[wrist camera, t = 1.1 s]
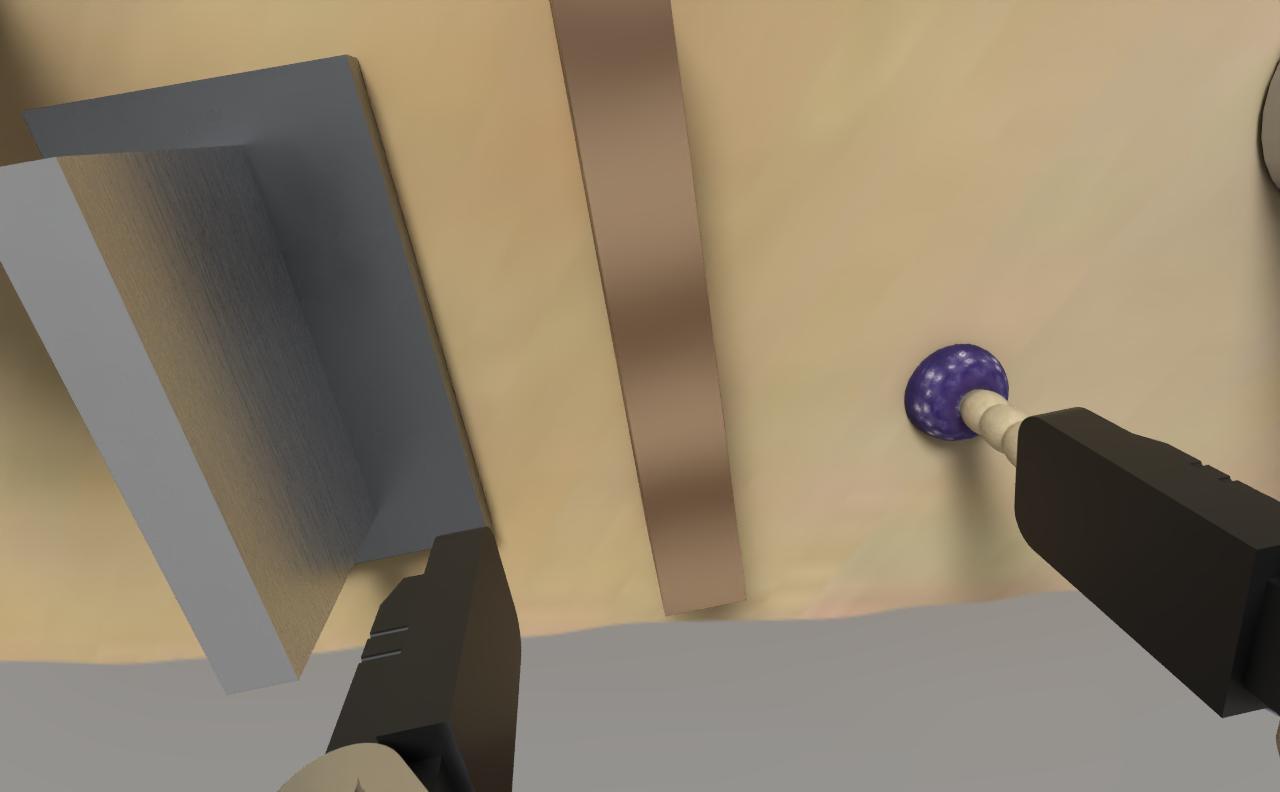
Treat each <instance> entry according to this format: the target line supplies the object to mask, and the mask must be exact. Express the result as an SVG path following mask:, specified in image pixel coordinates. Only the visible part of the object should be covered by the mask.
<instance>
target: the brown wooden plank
mask: <svg viewBox="0 0 1280 792" xmlns="http://www.w3.org/2000/svg"><path fill="white" fill-rule="evenodd" d="M549 1H550V6H551V12H552V17H553V22H554V28H555V33H556V39H557V44H558V49H559V55H560V60H561V66H562V71H563V76H564V82H565V87H566V93H567V98H568V103H569V109H570V114H571V120H572V125H573V130H574V136H575V141H576V147H577V152H578V157H579V163H580V168H581V174H582V179H583V184H584V190H585V195H586V201H587V206H588V211H589V217H590V222H591V228H592V233H593V238H594V244H595V249H596V255H597V260H598V265H599V271H600V276H601V282H602V287H603V292H604V298H605V303H606V309H607V314H608V319H609V325H610V330H611V336H612V341H613V346H614V352H615V357H616V363H617V368H618V374H619V379H620V384H621V390H622V395H623V401H624V406H625V411H626V417H627V422H628V428H629V433H630V438H631V444H632V449H633V455H634V460H635V465H636V471H637V476H638V482H639V487H640V492H641V498H642V503H643V509H644V514H645V519H646V525H647V530H648V535H649V540H650V544H651V549H652V554H653V559H654V563H655V568H656V573H657V578H658V582H659V587H660V592H661V597H662V601H663V606H664V611H665V616H670V615H675V614H680V613H685V612H690V611H695V610H700V609H705V608H709V607H714V606H719V605H724V604H729V603H734V602H739V601H744V600H746V594H745V586H744V578H743V570H742V562H741V554H740V546H739V539H738V531H737V523H736V515H735V507H734V499H733V491H732V483H731V475H730V468H729V460H728V452H727V444H726V436H725V428H724V420H723V412H722V404H721V397H720V389H719V381H718V373H717V365H716V357H715V349H714V341H713V333H712V326H711V318H710V310H709V302H708V294H707V286H706V278H705V270H704V262H703V255H702V247H701V239H700V231H699V223H698V215H697V207H696V199H695V192H694V184H693V176H692V168H691V160H690V152H689V144H688V136H687V128H686V121H685V113H684V105H683V97H682V89H681V81H680V73H679V65H678V57H677V50H676V42H675V34H674V26H673V18H672V10H671V2H670V0H549Z"/></svg>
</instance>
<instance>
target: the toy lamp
mask: <svg viewBox="0 0 1280 792" xmlns="http://www.w3.org/2000/svg"><path fill="white" fill-rule="evenodd" d="M1008 393H1009V385H1008V380H1007V376H1006V373H1005V371H1004V369H1003V367H1002V365H1001V364H1000V362H999V361H998V360H997V359H996V358H995V357H994V356H993V355H992V354H991V353H989V352H988V351H987V350H984V349H982V348H980V347H978V346H975V345H971V344H955V345H953V346H948V347H945V348H942V349H939V350H937V351H936V352H934V353H932V354H931V355H930V356H928V357H927V358H926V359H925V360H924V361H922V362H921V363H920V365H919V366H918V367H917V368H916V370H915V371H914V373H913V375H912V376H911V378H910V379H909V382H908V385H907V388H906V392H905V405H906V411H907V414H908V416H909V418H910V420H911V422H912V423H913V424H914V425H915V426H916V427H917V428H918V429H919V430H921V431H923V432H924V433H926V434H928V435H930V436H933V437H936V438H939V439H943V440H951V441H956V440H965V439H970V438H973V437H975V436H978V435H982V436H983V437H984V439H985V440H986V441H987V443H988V444H989V445H990V446H992V447H993V448H994V449H995V450H997V451H999V452H1001V453H1004V454H1005V455H1006V457H1007V459H1008V460H1009V461H1010V462H1011V464H1013V465H1014V466H1015V467H1016V461H1017V440H1018V430H1019V427H1020V424H1021V423H1022V421H1023V420H1024V419H1025V418H1027V417H1030V416H1029V415H1028V414H1027V413H1026V412H1024V411H1023V410H1021V409H1019V408H1017V407H1015V406H1011V405H1010V404H1009V403H1008V402H1007V401H1008ZM1269 497H1270V496H1269ZM1271 498H1272V497H1271ZM1278 502H1279V501H1278ZM1264 709H1266V710H1268V711H1270V712H1272V713H1273V714H1275V715H1277V716H1279V715H1278V714H1277V713H1275V712H1274V711H1273V710H1272V709H1270V708H1264Z"/></svg>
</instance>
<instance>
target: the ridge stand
mask: <svg viewBox="0 0 1280 792" xmlns="http://www.w3.org/2000/svg"><path fill="white" fill-rule="evenodd" d="M21 113H22V115H23V117H24V119H25V121H26V123H27V125H28V128H29V130H30V132H31V134H32V136H33V138H34V140H35V142H36V145H37V147H38V149H39V151H40V153H41V155H42V157H43V159H41V160H35V161H29V162H24V163H18V164H13V165H7V166H1V167H0V262H1V263H2V265H3V267H4V269H5V271H6V273H7V275H8V277H9V279H10V281H11V283H12V285H13V286H14V288H15V290H16V292H17V294H18V296H19V298H20V300H21V302H22V304H23V306H24V308H25V309H26V311H27V313H28V315H29V317H30V319H31V321H32V323H33V325H34V327H35V329H36V331H37V332H38V334H39V336H40V338H41V340H42V342H43V344H44V346H45V348H46V350H47V352H48V354H49V355H50V357H51V359H52V361H53V363H54V365H55V367H56V369H57V371H58V373H59V375H60V377H61V378H62V380H63V382H64V384H65V386H66V388H67V390H68V392H69V394H70V396H71V398H72V400H73V402H74V403H75V405H76V407H77V409H78V411H79V413H80V415H81V417H82V419H83V421H84V423H85V425H86V426H87V428H88V430H89V432H90V434H91V436H92V438H93V440H94V442H95V444H96V446H97V448H98V449H99V451H100V453H101V455H102V457H103V459H104V461H105V463H106V465H107V467H108V469H109V471H110V472H111V474H112V476H113V478H114V480H115V482H116V484H117V486H118V488H119V490H120V492H121V494H122V495H123V497H124V499H125V501H126V503H127V505H128V507H129V509H130V511H131V513H132V515H133V517H134V519H135V520H136V522H137V524H138V526H139V528H140V530H141V532H142V534H143V536H144V538H145V540H146V542H147V543H148V545H149V547H150V549H151V551H152V553H153V555H154V557H155V559H156V561H157V563H158V565H159V566H160V568H161V570H162V572H163V574H164V576H165V578H166V580H167V582H168V584H169V586H170V588H171V589H172V591H173V593H174V595H175V597H176V599H177V601H178V603H179V605H180V607H181V609H182V611H183V612H184V614H185V616H186V618H187V620H188V622H189V624H190V626H191V628H192V630H193V632H194V634H195V636H196V637H197V639H198V641H199V643H200V645H201V647H202V649H203V651H204V653H205V655H206V657H207V659H208V660H209V662H210V664H211V666H212V668H213V670H214V672H215V674H216V676H217V678H218V680H219V682H220V683H221V685H222V687H223V689H224V691H225V693H226V695H230V694H235V693H240V692H245V691H249V690H254V689H259V688H264V687H269V686H274V685H278V684H283V683H288V682H293V681H298V680H299V678H300V676H301V674H302V672H303V670H304V668H305V666H306V664H307V661H308V659H309V657H310V655H311V653H312V651H313V649H314V647H315V645H316V642H317V640H318V638H319V636H320V634H321V632H322V630H323V628H324V626H325V623H326V621H327V619H328V617H329V615H330V613H331V611H332V609H333V607H334V604H335V602H336V600H337V598H338V596H339V594H340V592H341V590H342V588H343V585H344V583H345V581H346V579H347V577H348V575H349V573H350V571H351V569H352V566H353V564H357V563H362V562H367V561H372V560H377V559H382V558H387V557H392V556H397V555H402V554H407V553H412V552H417V551H422V550H427V549H432V546H433V542H434V540H435V538H436V537H437V536H440V535H445V534H450V533H455V532H460V531H465V530H470V529H475V528H480V527H484V526H488V527H489V528H491V522H492V521H491V517H490V514H489V511H488V507H487V504H486V500H485V497H484V493H483V490H482V486H481V483H480V480H479V476H478V473H477V469H476V466H475V462H474V459H473V456H472V452H471V449H470V445H469V442H468V438H467V435H466V431H465V428H464V425H463V421H462V418H461V414H460V411H459V407H458V404H457V401H456V397H455V394H454V390H453V387H452V383H451V380H450V376H449V373H448V370H447V366H446V363H445V359H444V356H443V352H442V349H441V346H440V342H439V339H438V335H437V332H436V328H435V325H434V321H433V318H432V315H431V311H430V308H429V304H428V301H427V297H426V294H425V290H424V287H423V284H422V280H421V277H420V273H419V270H418V266H417V263H416V260H415V256H414V253H413V249H412V246H411V242H410V239H409V235H408V232H407V229H406V225H405V222H404V218H403V215H402V211H401V208H400V205H399V201H398V198H397V194H396V191H395V187H394V184H393V180H392V177H391V174H390V170H389V167H388V163H387V160H386V156H385V153H384V150H383V146H382V143H381V139H380V136H379V132H378V129H377V125H376V122H375V119H374V115H373V112H372V108H371V105H370V101H369V98H368V95H367V91H366V88H365V84H364V81H363V77H362V74H361V70H360V67H359V64H358V60H357V58H355V57H352V56H349V55H341V56H335V57H330V58H324V59H318V60H312V61H307V62H301V63H295V64H290V65H284V66H278V67H272V68H267V69H261V70H255V71H249V72H244V73H238V74H232V75H226V76H221V77H215V78H209V79H204V80H198V81H192V82H186V83H181V84H175V85H169V86H163V87H158V88H152V89H146V90H140V91H135V92H129V93H123V94H118V95H112V96H106V97H100V98H95V99H89V100H83V101H77V102H72V103H66V104H60V105H54V106H49V107H43V108H37V109H32V110H26V111H21Z"/></svg>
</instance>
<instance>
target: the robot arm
mask: <svg viewBox="0 0 1280 792" xmlns="http://www.w3.org/2000/svg"><path fill="white" fill-rule="evenodd" d="M1261 138H1262V145H1263V153H1264V160H1265V163H1266V166H1267V168H1268V171H1269V173H1270V176H1271V178H1272V181H1273V182H1274V183H1275V184H1276V186H1277V187H1278V188H1279V189H1280V62H1279V65H1278V67H1277V69H1276V72H1275V74H1274V76H1273V78H1272V81H1271V83H1270V87H1269V91H1268V95H1267V99H1266V103H1265V107H1264V110H1263V123H1262V136H1261ZM1014 506H1015V517H1016V521H1017V524H1018V527H1019V529H1020V532H1021V534H1022V536H1023V538H1024V539H1025V541H1026V542H1027V543H1028V545H1029V546H1030V547H1031V548H1032V549H1033V550H1034V551H1035V552H1036V553H1037V554H1038V555H1040V556H1041V557H1042V558H1043V559H1044V560H1045V561H1046V562H1047V563H1049V564H1050V565H1051V566H1052V567H1053V568H1054V569H1055V570H1056V571H1058V572H1059V573H1060V574H1061V575H1062V576H1063V577H1064V578H1065V579H1067V580H1068V581H1069V582H1070V583H1071V584H1072V585H1073V586H1074V587H1075V588H1077V589H1078V590H1079V591H1080V592H1081V593H1082V594H1083V595H1084V596H1086V597H1087V598H1088V599H1089V600H1090V601H1091V602H1093V604H1095V605H1096V606H1097V607H1098V608H1099V609H1100V610H1101V611H1102V612H1104V613H1105V614H1106V615H1107V616H1108V617H1109V618H1110V619H1111V620H1113V621H1114V622H1115V623H1116V624H1117V625H1118V626H1119V627H1120V628H1122V629H1123V630H1124V631H1125V632H1126V633H1127V634H1128V635H1129V636H1130V637H1132V638H1133V639H1134V640H1135V641H1136V642H1137V643H1138V644H1140V645H1141V646H1142V647H1143V648H1144V649H1145V650H1146V651H1147V652H1149V653H1150V654H1151V655H1152V656H1153V657H1154V658H1155V659H1156V660H1157V661H1159V662H1160V663H1161V664H1162V665H1163V666H1164V667H1165V668H1167V669H1168V670H1169V671H1170V672H1171V673H1172V674H1173V675H1174V676H1175V677H1177V678H1178V679H1179V680H1180V681H1181V682H1182V683H1183V684H1185V685H1186V686H1187V687H1188V688H1189V689H1190V690H1191V691H1192V692H1193V693H1194V694H1196V695H1197V696H1198V697H1199V698H1200V699H1201V700H1202V701H1203V702H1205V703H1206V704H1207V705H1208V706H1209V707H1210V708H1212V709H1213V710H1214V711H1215V712H1216V713H1217V714H1218V715H1219V716H1220V717H1222V718H1224V717H1229V716H1233V715H1238V714H1242V713H1247V712H1251V711H1255V710H1260V709H1264V708H1270V709H1272V710H1273V711H1274V712H1275V713H1277V714H1278V715H1279V716H1280V502H1278V501H1277V500H1275V499H1273V498H1271V497H1269V496H1267V495H1265V494H1263V493H1261V492H1259V491H1257V490H1255V489H1253V488H1252V487H1250V486H1248V485H1246V484H1244V483H1242V482H1240V481H1238V480H1236V481H1232V480H1231V479H1230V476H1229V475H1227V474H1225V473H1223V472H1221V471H1219V470H1217V469H1215V468H1213V467H1211V466H1209V465H1205V466H1203V465H1202V463H1201V461H1200V460H1198V459H1196V458H1194V457H1192V456H1190V455H1188V454H1186V453H1184V452H1182V451H1181V450H1179V449H1177V448H1175V447H1173V446H1171V445H1169V444H1167V443H1164V442H1160V441H1157V440H1153V439H1150V438H1146V437H1143V436H1139V435H1136V434H1133V433H1131V432H1129V431H1127V430H1125V429H1123V428H1121V427H1119V426H1117V425H1116V424H1114V423H1112V422H1110V421H1108V420H1106V419H1104V418H1102V417H1101V416H1099V415H1097V414H1095V413H1093V412H1091V411H1089V410H1087V409H1085V408H1082V407H1074V408H1069V409H1064V410H1059V411H1054V412H1050V413H1045V414H1040V415H1035V416H1030V417H1027V418H1025V419H1024V420H1023V421H1022V423H1021V424H1020V427H1019V430H1018V440H1017V461H1016V483H1015V505H1014ZM370 636H371V638H370V639H368V640H367V643H366V645H365V648H364V651H363V654H362V656H361V659H362V663H359V665H358V667H357V670H356V672H355V676H354V678H353V680H352V683H351V686H350V689H349V691H348V694H347V697H346V699H345V702H344V705H343V708H342V710H341V713H340V716H339V719H338V721H337V724H336V727H335V729H334V732H333V735H332V737H331V740H330V743H329V745H328V748H327V751H326V753H325V755H323V756H321V757H319V758H317V759H316V760H314V761H312V762H311V763H309V764H308V765H306V766H305V767H304V768H302V769H301V770H300V771H298V772H297V773H296V774H294V775H293V776H292V777H291V778H290V779H289V780H288V781H287V782H286V783H285V784H284V785H283V786H282V787H281V788H280V789H279V790H278V791H277V792H512V780H513V767H514V752H515V737H516V723H517V709H518V693H519V678H520V665H521V638H520V630H519V623H518V618H517V614H516V610H515V606H514V603H513V599H512V596H511V593H510V589H509V586H508V582H507V579H506V575H505V572H504V569H503V565H502V562H501V558H500V555H499V552H498V548H497V545H496V541H495V538H494V535H493V533H492V531H491V529H490V528H489V527H488V526H484V527H480V528H475V529H470V530H465V531H460V532H455V533H450V534H445V535H440V536H437V537H436V538H435V540H434V542H433V546H432V549H431V553H430V556H429V559H428V563H427V566H426V569H425V573H424V574H422V575H417V576H413V577H408V578H404V579H403V580H402V581H401V582H400V583H399V584H398V586H397V587H396V588H395V589H394V590H393V591H392V592H391V594H390V595H389V596H388V597H387V598H386V599H385V600H384V602H383V603H382V604H381V605H380V607H379V610H378V613H377V616H376V618H375V621H374V624H373V626H372V629H371V632H370ZM1276 743H1277V748H1278V752H1279V756H1280V722H1279V726H1278V730H1277V735H1276Z"/></svg>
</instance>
